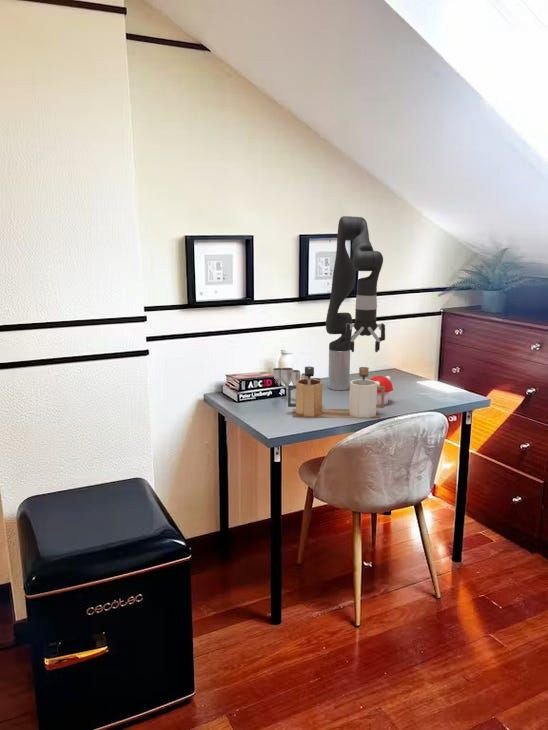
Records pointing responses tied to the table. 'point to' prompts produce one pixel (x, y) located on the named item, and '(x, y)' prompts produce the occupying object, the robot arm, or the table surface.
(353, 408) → the cream press
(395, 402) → the table surface
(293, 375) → the goblet set
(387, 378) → the mushroom
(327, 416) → the board
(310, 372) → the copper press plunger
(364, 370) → the brown plunger
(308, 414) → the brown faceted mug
